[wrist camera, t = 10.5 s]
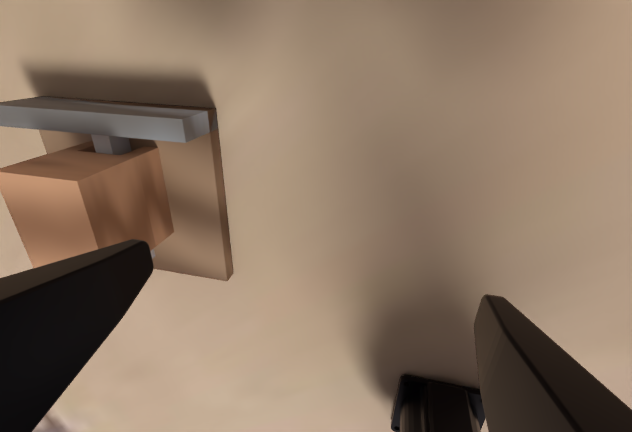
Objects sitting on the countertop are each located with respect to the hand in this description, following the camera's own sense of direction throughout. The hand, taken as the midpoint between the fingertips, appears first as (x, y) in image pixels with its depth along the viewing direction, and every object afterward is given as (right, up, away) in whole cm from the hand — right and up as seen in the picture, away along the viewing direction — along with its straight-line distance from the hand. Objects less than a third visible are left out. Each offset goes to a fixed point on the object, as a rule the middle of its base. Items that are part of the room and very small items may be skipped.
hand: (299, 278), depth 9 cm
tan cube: (-12, +4, +14) cm, 19 cm away
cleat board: (-12, +3, +15) cm, 19 cm away
